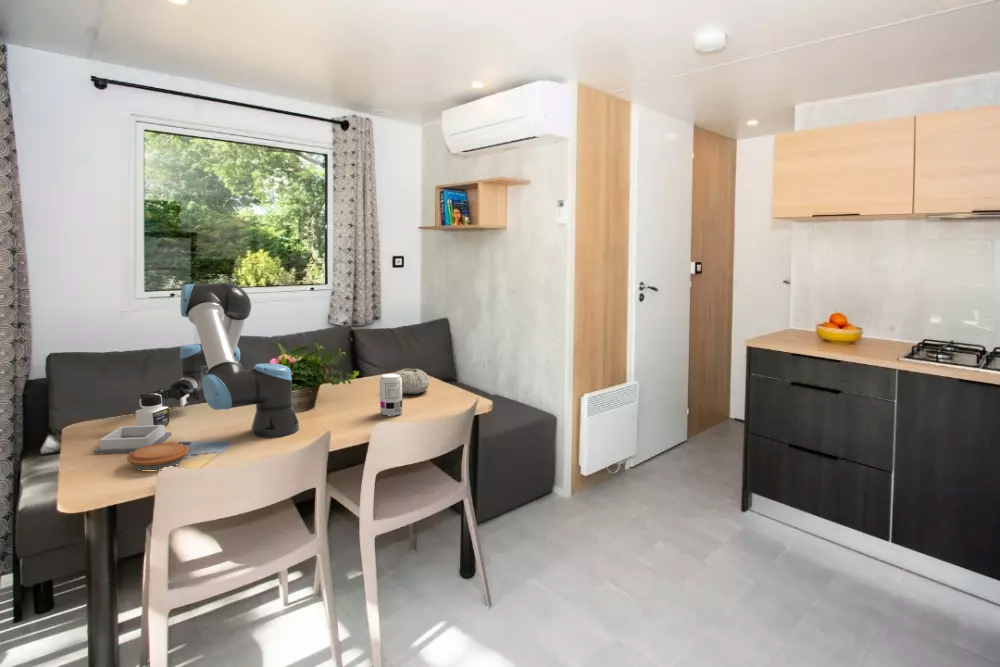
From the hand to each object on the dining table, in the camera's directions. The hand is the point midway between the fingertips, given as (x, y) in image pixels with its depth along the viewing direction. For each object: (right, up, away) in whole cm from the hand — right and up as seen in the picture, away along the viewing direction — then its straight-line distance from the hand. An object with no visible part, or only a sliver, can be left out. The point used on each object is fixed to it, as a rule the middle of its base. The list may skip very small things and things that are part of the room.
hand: (161, 402), depth 205 cm
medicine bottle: (+1, -8, -7) cm, 11 cm away
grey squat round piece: (+82, -1, +47) cm, 94 cm away
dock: (+5, -10, -23) cm, 25 cm away
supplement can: (+80, -6, +14) cm, 81 cm away
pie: (+22, -14, -39) cm, 47 cm away
